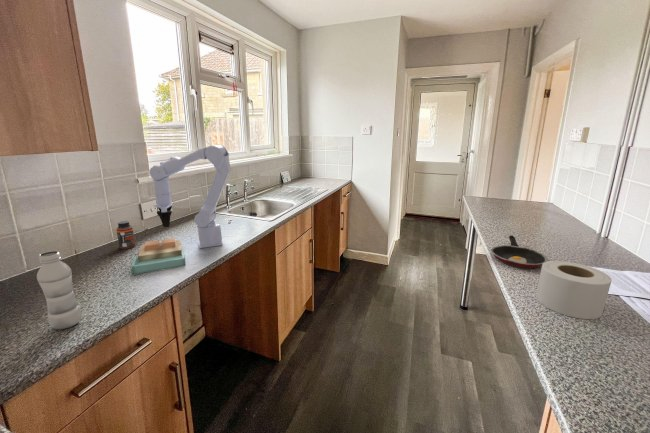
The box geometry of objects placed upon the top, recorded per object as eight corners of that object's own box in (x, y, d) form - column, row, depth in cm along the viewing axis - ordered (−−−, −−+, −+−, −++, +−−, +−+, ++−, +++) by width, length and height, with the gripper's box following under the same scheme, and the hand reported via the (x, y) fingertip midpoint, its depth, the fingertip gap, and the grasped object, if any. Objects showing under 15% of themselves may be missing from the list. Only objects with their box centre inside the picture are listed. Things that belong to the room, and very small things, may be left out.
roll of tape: (528, 287, 98) (535, 257, 95) (586, 295, 94) (594, 263, 91) (545, 314, 84) (554, 279, 81) (614, 324, 79) (625, 288, 77)
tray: (184, 255, 122) (183, 248, 122) (185, 265, 113) (184, 258, 113) (135, 263, 115) (134, 256, 114) (132, 274, 106) (131, 266, 105)
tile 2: (175, 242, 130) (174, 238, 129) (175, 246, 126) (174, 241, 125) (162, 244, 128) (161, 239, 127) (162, 248, 124) (161, 243, 123)
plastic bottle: (63, 318, 81) (44, 249, 76) (89, 317, 82) (73, 248, 77) (43, 333, 75) (22, 259, 70) (72, 332, 76) (53, 258, 70)
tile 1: (159, 244, 127) (159, 240, 127) (159, 248, 123) (158, 244, 123) (146, 246, 125) (145, 242, 125) (145, 250, 121) (144, 246, 120)
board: (181, 245, 134) (180, 239, 133) (181, 255, 122) (181, 250, 122) (142, 250, 127) (141, 245, 127) (139, 262, 116) (138, 256, 115)
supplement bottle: (128, 249, 128) (123, 224, 125) (116, 248, 130) (111, 223, 126) (139, 245, 134) (134, 220, 131) (127, 244, 135) (123, 219, 132)
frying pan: (491, 266, 114) (492, 257, 113) (486, 239, 142) (488, 232, 141) (551, 276, 106) (553, 266, 105) (534, 246, 134) (536, 238, 133)
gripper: (152, 191, 133) (156, 220, 136) (150, 197, 120) (155, 230, 124) (170, 190, 136) (174, 219, 139) (170, 196, 123) (174, 228, 127)
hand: (166, 224), depth 132 cm, fingers open, 7 cm apart
